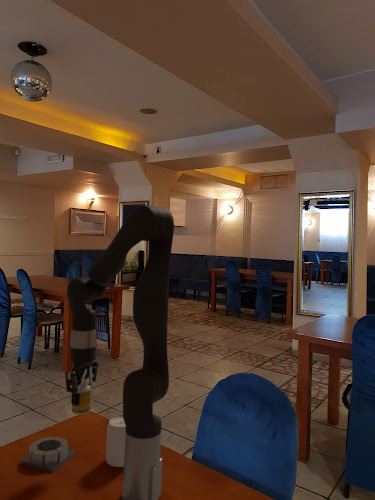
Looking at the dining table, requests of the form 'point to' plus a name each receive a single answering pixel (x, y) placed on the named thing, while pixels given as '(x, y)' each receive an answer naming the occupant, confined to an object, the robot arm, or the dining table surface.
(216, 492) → the dining table surface
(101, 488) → the dining table surface
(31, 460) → the rosette collar
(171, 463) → the dining table surface
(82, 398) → the supplement bottle
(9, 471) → the dining table surface
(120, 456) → the beverage can
